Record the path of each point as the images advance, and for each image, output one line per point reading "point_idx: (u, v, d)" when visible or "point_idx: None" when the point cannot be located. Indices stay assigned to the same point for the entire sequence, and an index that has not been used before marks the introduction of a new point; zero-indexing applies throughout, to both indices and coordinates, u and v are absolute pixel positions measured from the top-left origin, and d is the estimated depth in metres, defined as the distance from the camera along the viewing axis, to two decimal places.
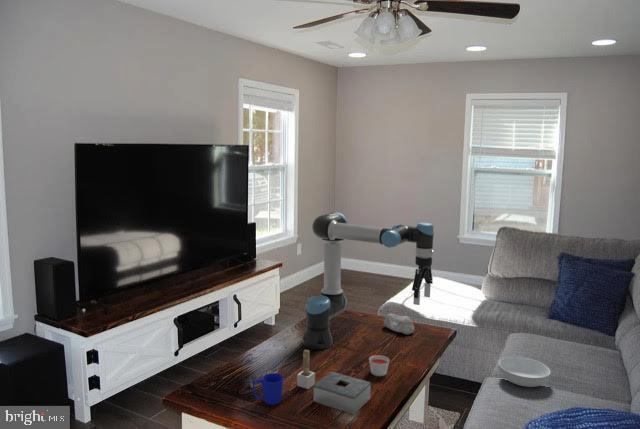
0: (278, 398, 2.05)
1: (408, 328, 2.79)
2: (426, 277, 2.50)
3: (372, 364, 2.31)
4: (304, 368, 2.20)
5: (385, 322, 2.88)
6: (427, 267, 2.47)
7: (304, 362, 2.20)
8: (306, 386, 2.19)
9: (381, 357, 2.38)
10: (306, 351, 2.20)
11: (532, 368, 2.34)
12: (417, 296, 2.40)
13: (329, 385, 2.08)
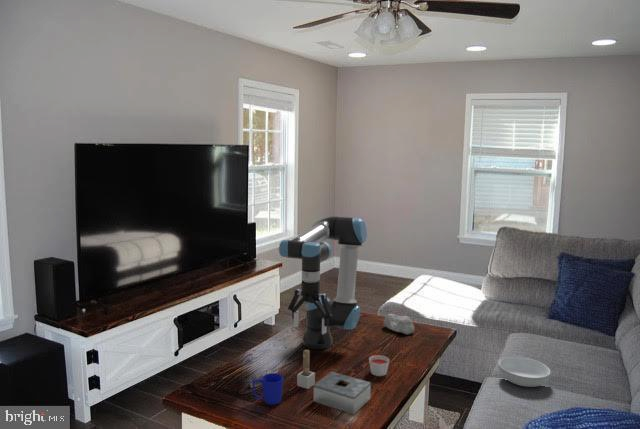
0: (278, 398, 2.05)
1: (408, 328, 2.79)
2: None
3: (372, 364, 2.31)
4: (304, 368, 2.20)
5: (385, 322, 2.87)
6: (314, 295, 2.15)
7: (304, 362, 2.20)
8: (306, 386, 2.19)
9: (381, 357, 2.38)
10: (306, 351, 2.20)
11: (532, 368, 2.34)
12: (293, 317, 2.22)
13: (329, 385, 2.08)
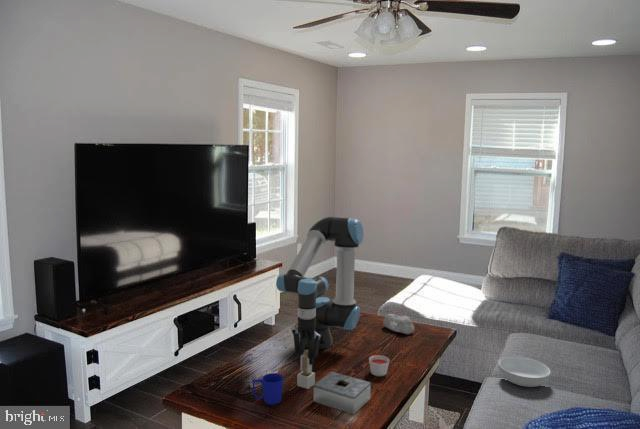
0: (278, 398, 2.05)
1: (408, 328, 2.79)
2: None
3: (372, 364, 2.31)
4: (304, 368, 2.20)
5: (385, 322, 2.87)
6: (310, 331, 2.17)
7: (304, 362, 2.20)
8: (306, 386, 2.19)
9: (381, 357, 2.38)
10: (306, 351, 2.20)
11: (532, 368, 2.34)
12: (300, 360, 2.22)
13: (329, 385, 2.08)
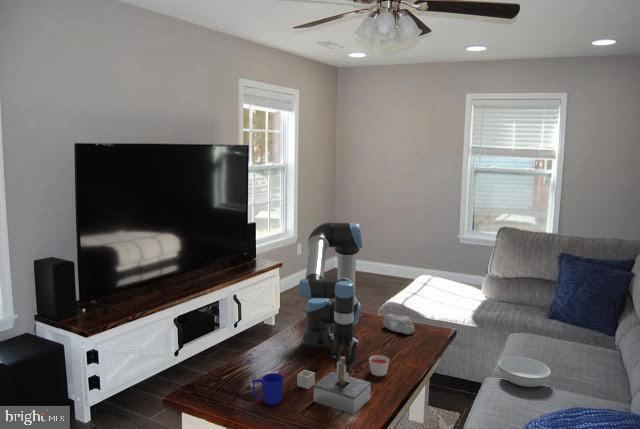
0: (278, 398, 2.05)
1: (408, 328, 2.79)
2: None
3: (372, 364, 2.31)
4: (341, 376, 2.08)
5: (384, 323, 2.87)
6: (348, 336, 2.04)
7: (340, 369, 2.07)
8: (306, 386, 2.19)
9: (381, 357, 2.38)
10: (343, 358, 2.07)
11: (532, 368, 2.34)
12: (336, 367, 2.09)
13: (329, 385, 2.08)
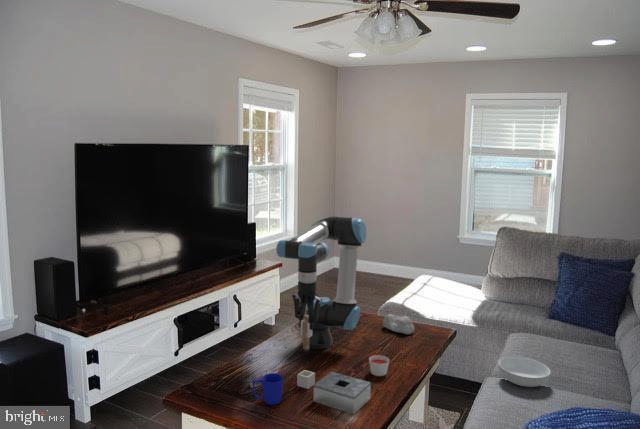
0: (278, 398, 2.05)
1: (409, 328, 2.79)
2: None
3: (372, 364, 2.31)
4: (304, 333, 2.18)
5: (384, 323, 2.86)
6: (311, 295, 2.14)
7: (304, 327, 2.18)
8: (306, 386, 2.19)
9: (381, 357, 2.38)
10: (306, 316, 2.17)
11: (532, 368, 2.34)
12: (300, 325, 2.19)
13: (329, 385, 2.08)
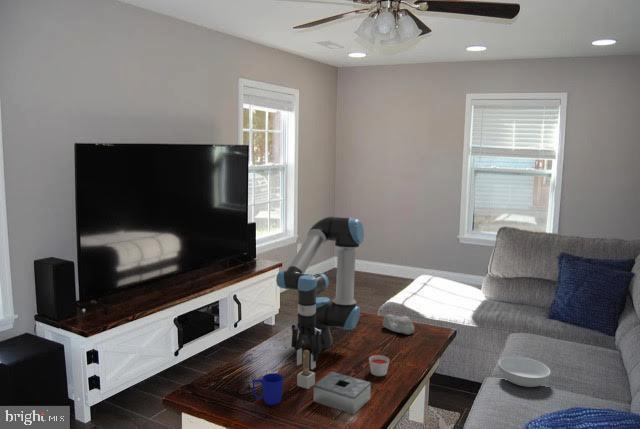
0: (278, 398, 2.05)
1: (409, 328, 2.79)
2: None
3: (372, 364, 2.31)
4: (304, 368, 2.20)
5: (384, 323, 2.86)
6: (310, 327, 2.16)
7: (304, 362, 2.20)
8: (306, 386, 2.19)
9: (381, 357, 2.38)
10: (306, 351, 2.20)
11: (532, 368, 2.34)
12: (296, 354, 2.22)
13: (329, 385, 2.08)
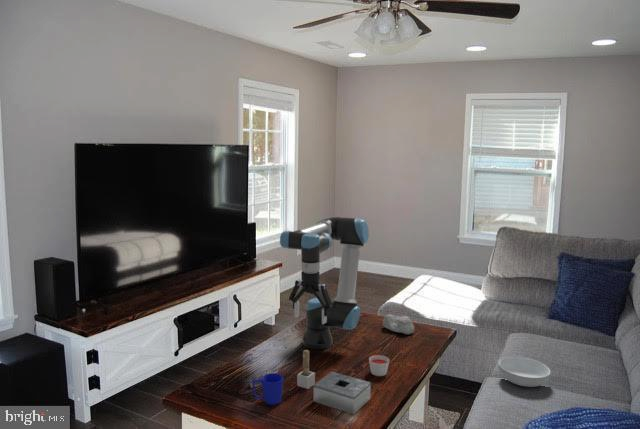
0: (278, 398, 2.05)
1: (409, 328, 2.79)
2: None
3: (372, 364, 2.31)
4: (304, 368, 2.20)
5: (384, 323, 2.86)
6: (314, 285, 2.18)
7: (304, 362, 2.20)
8: (306, 386, 2.19)
9: (381, 357, 2.38)
10: (306, 351, 2.20)
11: (532, 368, 2.34)
12: (294, 307, 2.25)
13: (329, 385, 2.08)
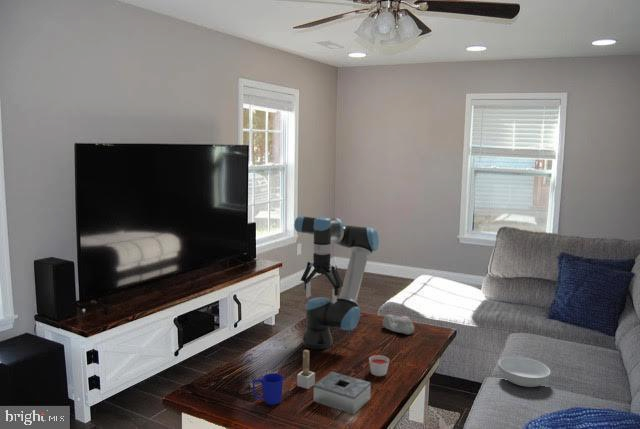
0: (278, 398, 2.05)
1: (409, 328, 2.79)
2: None
3: (372, 364, 2.31)
4: (304, 368, 2.20)
5: (384, 323, 2.86)
6: (325, 266, 2.30)
7: (304, 362, 2.20)
8: (306, 386, 2.19)
9: (381, 357, 2.38)
10: (306, 351, 2.20)
11: (532, 368, 2.34)
12: (305, 287, 2.38)
13: (329, 385, 2.08)
